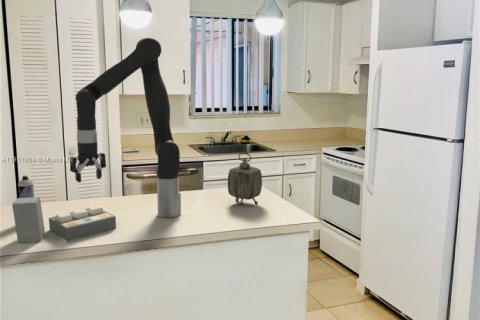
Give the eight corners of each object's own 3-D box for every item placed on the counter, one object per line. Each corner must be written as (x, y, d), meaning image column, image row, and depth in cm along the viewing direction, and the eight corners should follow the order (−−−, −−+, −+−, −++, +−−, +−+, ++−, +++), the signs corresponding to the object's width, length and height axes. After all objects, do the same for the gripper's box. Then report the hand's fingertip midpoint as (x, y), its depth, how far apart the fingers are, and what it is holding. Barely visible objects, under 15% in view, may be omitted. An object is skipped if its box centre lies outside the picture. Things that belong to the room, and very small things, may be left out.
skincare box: (45, 235, 168) (42, 195, 164) (40, 243, 161) (36, 201, 157) (21, 236, 166) (18, 196, 163) (15, 244, 160) (11, 202, 156)
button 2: (97, 211, 183) (97, 204, 182) (103, 214, 180) (102, 207, 179) (87, 214, 180) (87, 207, 179) (92, 216, 177) (92, 209, 176)
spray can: (25, 220, 183) (20, 174, 178) (38, 220, 183) (34, 174, 179) (19, 225, 177) (15, 177, 173) (33, 225, 178) (29, 177, 173)
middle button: (82, 215, 178) (82, 208, 178) (88, 218, 175) (87, 211, 175) (72, 217, 175) (71, 210, 175) (77, 220, 172) (76, 213, 172)
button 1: (67, 219, 174) (66, 211, 173) (72, 222, 171) (71, 214, 170) (56, 221, 171) (55, 214, 170) (61, 224, 168) (60, 217, 167)
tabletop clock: (261, 204, 209) (262, 153, 203) (251, 209, 201) (252, 156, 196) (235, 199, 216) (236, 149, 211) (225, 203, 209) (226, 152, 204)
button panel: (96, 217, 187) (96, 206, 186) (116, 228, 176) (115, 215, 175) (49, 229, 173) (48, 217, 172) (67, 241, 162) (66, 228, 161)
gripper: (74, 144, 166) (77, 185, 169) (108, 140, 176) (109, 179, 179) (65, 141, 171) (67, 181, 174) (98, 137, 181) (100, 175, 184)
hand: (89, 180), depth 177 cm, fingers open, 8 cm apart
